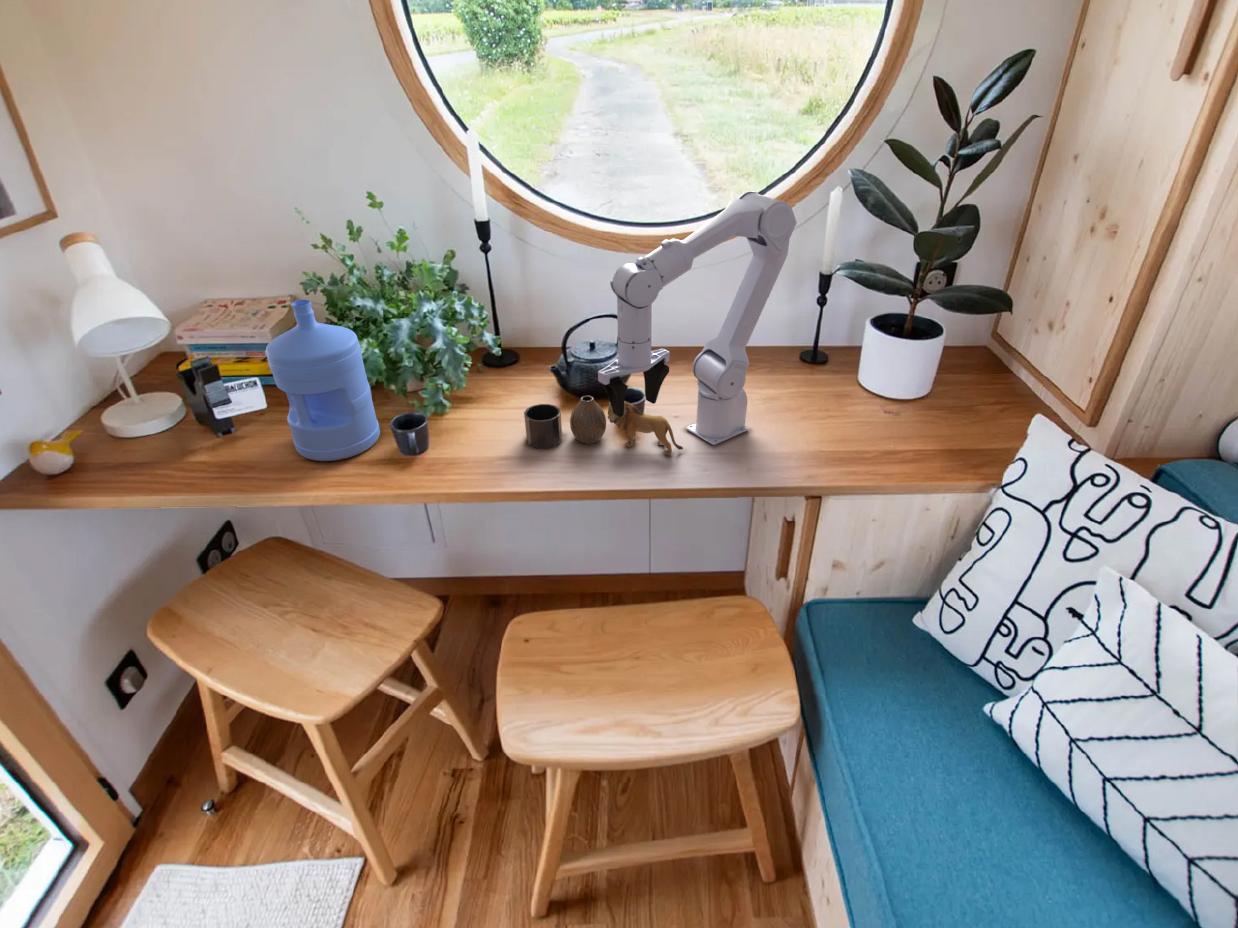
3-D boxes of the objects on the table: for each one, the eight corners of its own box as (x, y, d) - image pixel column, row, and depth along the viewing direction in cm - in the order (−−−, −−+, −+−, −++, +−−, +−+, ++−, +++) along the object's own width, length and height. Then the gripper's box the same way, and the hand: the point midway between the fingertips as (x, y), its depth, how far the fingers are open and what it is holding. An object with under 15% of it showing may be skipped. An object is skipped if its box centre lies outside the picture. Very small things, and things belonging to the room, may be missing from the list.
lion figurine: (604, 447, 130) (603, 405, 125) (612, 433, 134) (611, 392, 129) (679, 458, 126) (681, 415, 121) (686, 443, 131) (688, 402, 126)
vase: (594, 451, 129) (592, 410, 124) (564, 441, 132) (561, 401, 127) (613, 435, 134) (612, 395, 129) (583, 426, 137) (582, 387, 132)
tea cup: (549, 427, 137) (547, 400, 133) (569, 441, 132) (567, 414, 129) (520, 437, 133) (517, 410, 130) (538, 452, 129) (536, 425, 125)
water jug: (333, 416, 141) (296, 284, 126) (397, 428, 137) (367, 292, 121) (278, 454, 129) (229, 313, 114) (346, 469, 125) (305, 324, 109)
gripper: (651, 320, 122) (650, 388, 130) (586, 341, 115) (589, 412, 122) (678, 331, 117) (676, 401, 125) (611, 354, 110) (613, 427, 117)
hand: (634, 407), depth 123 cm, fingers open, 7 cm apart
